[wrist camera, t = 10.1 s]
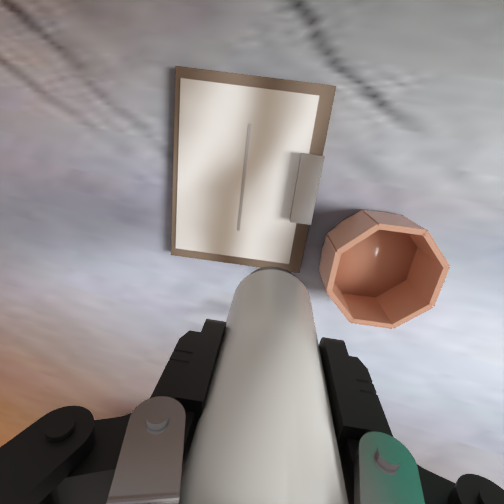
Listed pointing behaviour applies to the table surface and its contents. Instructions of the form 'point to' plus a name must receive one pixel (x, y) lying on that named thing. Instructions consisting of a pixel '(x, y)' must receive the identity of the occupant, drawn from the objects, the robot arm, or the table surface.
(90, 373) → the table surface
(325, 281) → the pen cup
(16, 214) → the table surface
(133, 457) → the robot arm
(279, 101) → the clipboard
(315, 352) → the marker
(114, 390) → the table surface
